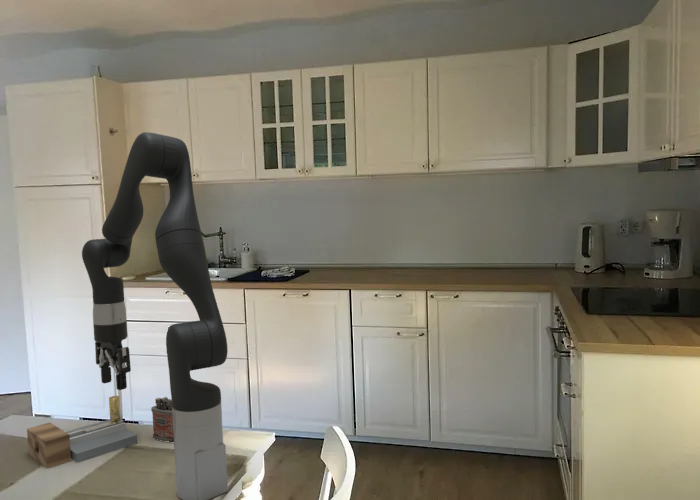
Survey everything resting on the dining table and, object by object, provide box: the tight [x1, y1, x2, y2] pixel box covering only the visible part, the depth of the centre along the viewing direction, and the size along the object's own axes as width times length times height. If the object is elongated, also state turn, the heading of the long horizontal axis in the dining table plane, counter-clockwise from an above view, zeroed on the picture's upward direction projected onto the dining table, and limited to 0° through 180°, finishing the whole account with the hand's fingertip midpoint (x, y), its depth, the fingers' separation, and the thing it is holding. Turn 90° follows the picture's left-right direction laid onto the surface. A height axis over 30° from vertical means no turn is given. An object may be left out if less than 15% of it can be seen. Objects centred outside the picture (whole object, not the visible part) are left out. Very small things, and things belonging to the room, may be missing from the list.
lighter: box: [150, 396, 174, 443], centre depth 140 cm, size 8×3×10 cm, turn 62°
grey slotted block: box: [65, 419, 139, 463], centre depth 139 cm, size 16×14×4 cm
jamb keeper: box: [26, 422, 72, 469], centre depth 131 cm, size 12×5×6 cm, turn 46°
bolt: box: [83, 395, 124, 434], centre depth 140 cm, size 2×9×8 cm, turn 136°
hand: (114, 385), depth 142 cm, fingers open, 8 cm apart
